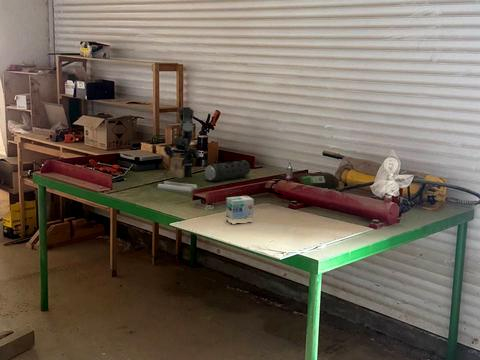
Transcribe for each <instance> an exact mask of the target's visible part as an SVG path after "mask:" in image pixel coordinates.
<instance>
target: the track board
mask: <svg viewBox="0 0 480 360" xmlns="http://www.w3.org/2000/svg"><path fill="white" fill-rule="evenodd" d="M196 188H198V185H197V184H193V183H182V182H175V181H166V180H164V181H163V183H158V184H157V187H156V190H161V191H165V192H166V191H167V192H173V193H174V192H175V193H182V194H183V193H184V194H191V193H193V192H194V191H193V190H194V189H196ZM198 189H199V188H198ZM192 191H193V192H192Z"/></svg>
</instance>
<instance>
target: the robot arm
mask: <svg viewBox="0 0 480 360" xmlns="http://www.w3.org/2000/svg"><path fill="white" fill-rule="evenodd" d="M178 118H179V122H180V124H179V129H180V132H181V133H182V134H181V138H179V137H178V138H177V137H176V138H175V137H174V140H173V145H175V148H174V147H173V145H165V146H164V147H163V151H164V153H165V155H166V156H169V160H170V159H171V158H173V157H176V154H179V156H178V158H184V160H183V162H182V166H184V177H183V178H189V177H193V174H192V167H195V159H199V157H200V154H199V151H198V149H197V148H194V147H193V148H192V147H191V143H192V140H193V138H194V131H195V130H196V125H195V123H194V122H193V118H194V110H193V108H191V107H190V106H189V107H187V106H184V107H181V108H180V109H179V110H178Z"/></svg>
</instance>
